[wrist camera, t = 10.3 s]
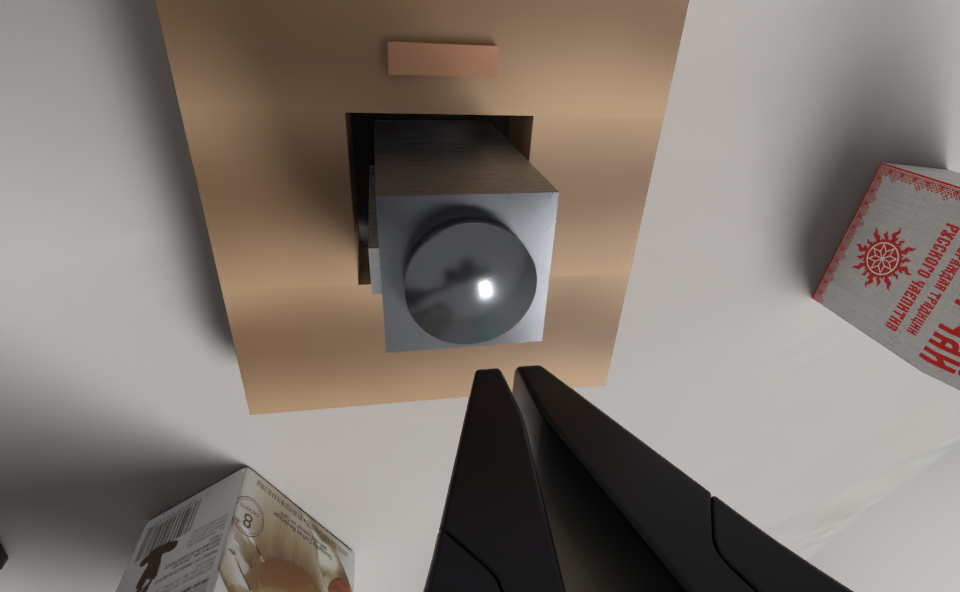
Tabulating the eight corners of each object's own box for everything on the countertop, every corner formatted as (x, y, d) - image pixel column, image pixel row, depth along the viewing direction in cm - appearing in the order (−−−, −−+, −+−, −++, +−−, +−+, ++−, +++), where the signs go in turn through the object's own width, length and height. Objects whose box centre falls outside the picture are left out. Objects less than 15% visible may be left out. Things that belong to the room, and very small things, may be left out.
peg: (488, 120, 18) (568, 201, 11) (484, 226, 20) (549, 354, 13) (366, 120, 17) (363, 206, 10) (374, 230, 19) (375, 368, 12)
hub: (580, 344, 24) (608, 389, 21) (264, 365, 21) (248, 420, 19) (655, -75, 16) (715, -91, 13) (168, -119, 13) (115, -151, 11)
